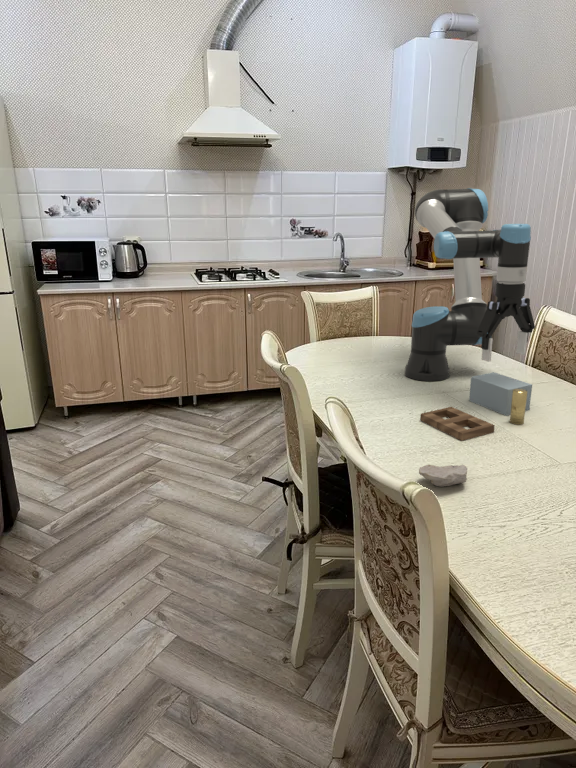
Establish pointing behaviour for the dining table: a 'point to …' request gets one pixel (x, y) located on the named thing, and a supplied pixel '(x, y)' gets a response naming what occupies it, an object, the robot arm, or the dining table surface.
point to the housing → (497, 391)
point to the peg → (518, 406)
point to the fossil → (444, 474)
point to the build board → (457, 423)
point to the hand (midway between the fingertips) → (503, 357)
